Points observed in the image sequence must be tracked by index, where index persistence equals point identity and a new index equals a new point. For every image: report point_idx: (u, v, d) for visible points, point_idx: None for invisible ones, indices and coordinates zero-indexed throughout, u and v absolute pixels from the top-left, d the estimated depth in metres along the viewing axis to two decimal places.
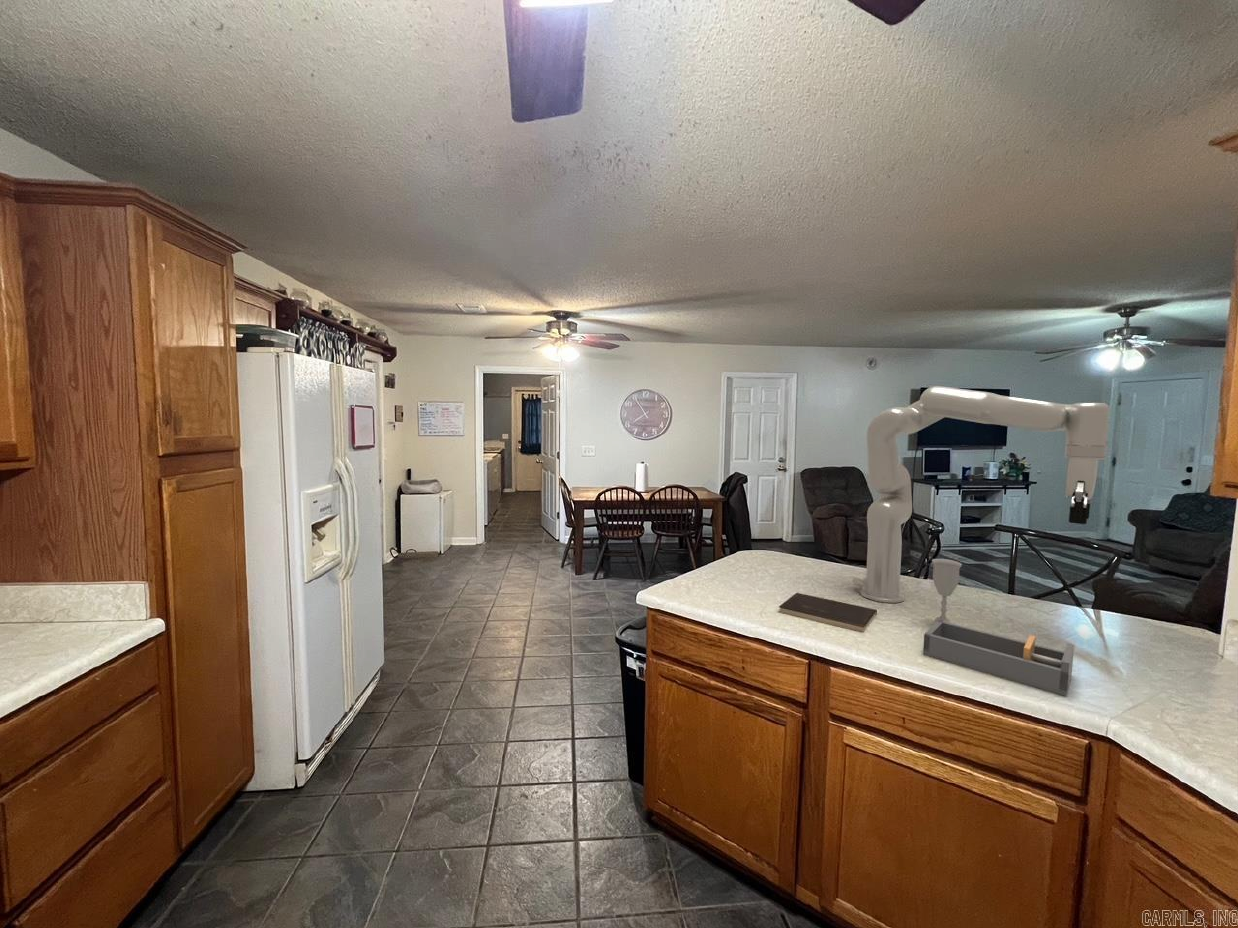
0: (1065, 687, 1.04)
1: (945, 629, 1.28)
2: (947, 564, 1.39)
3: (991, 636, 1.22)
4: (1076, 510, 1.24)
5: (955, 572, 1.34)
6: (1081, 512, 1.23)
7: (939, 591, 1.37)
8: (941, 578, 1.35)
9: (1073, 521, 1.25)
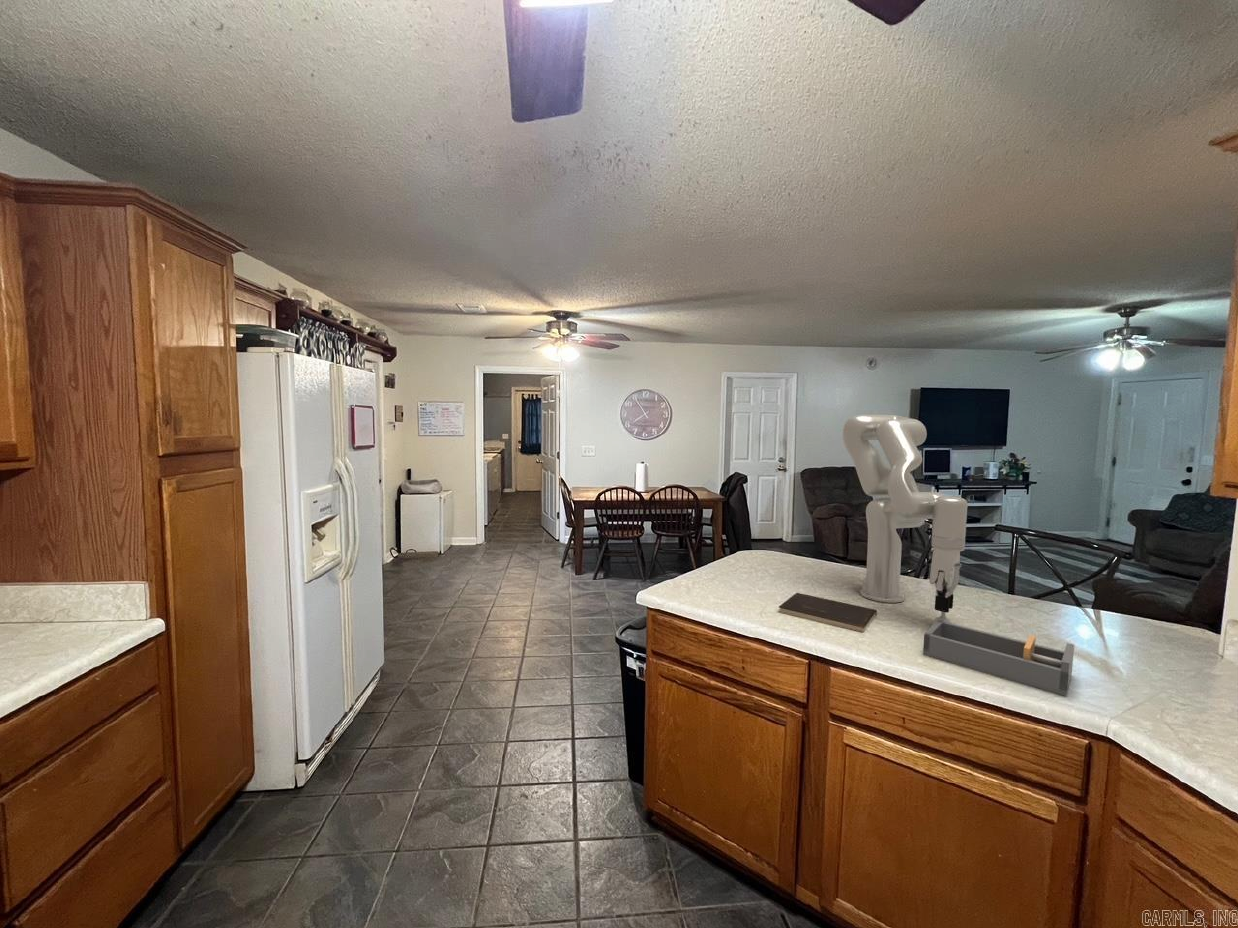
0: (1065, 687, 1.04)
1: (945, 629, 1.28)
2: None
3: (991, 636, 1.22)
4: (940, 600, 1.36)
5: (955, 572, 1.34)
6: (944, 602, 1.35)
7: None
8: None
9: (938, 609, 1.37)
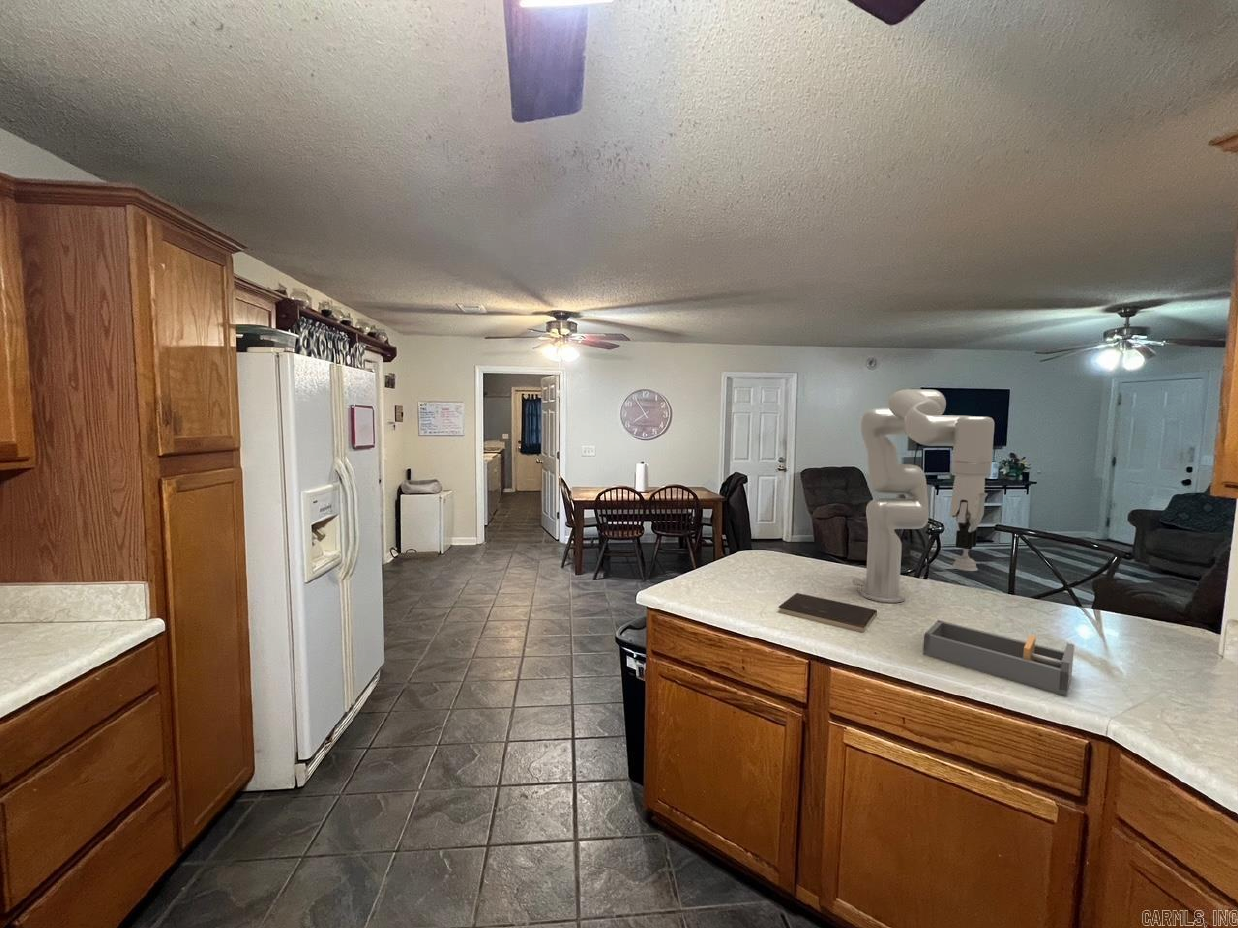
0: (1065, 687, 1.04)
1: (945, 629, 1.28)
2: None
3: (991, 636, 1.22)
4: (962, 535, 1.18)
5: (980, 503, 1.16)
6: (966, 537, 1.17)
7: None
8: None
9: (959, 546, 1.19)
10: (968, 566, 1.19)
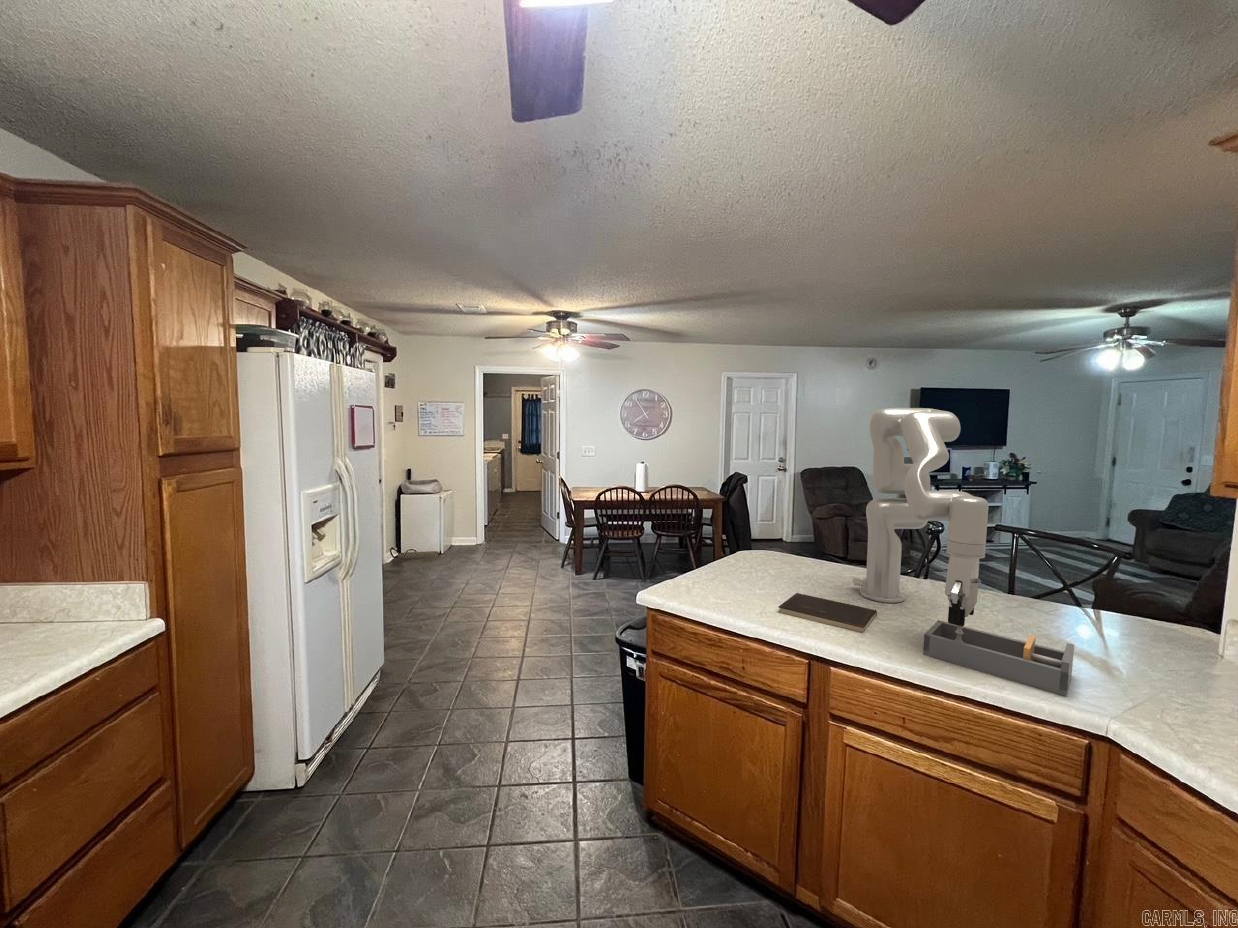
0: (1065, 687, 1.04)
1: (945, 629, 1.28)
2: None
3: (991, 636, 1.22)
4: (954, 612, 1.18)
5: (973, 590, 1.17)
6: (958, 614, 1.17)
7: None
8: None
9: (952, 622, 1.19)
10: None
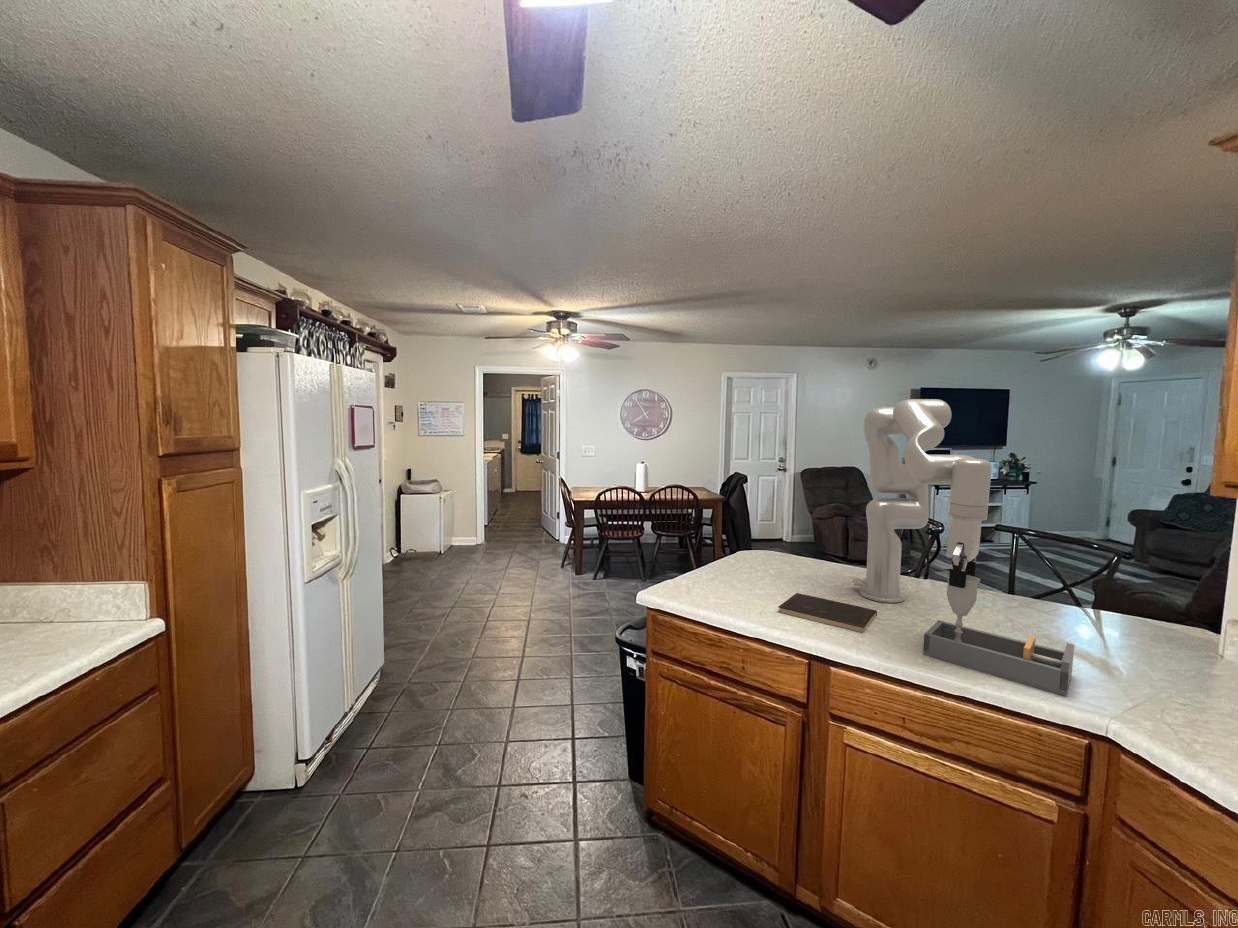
0: (1065, 687, 1.04)
1: (945, 629, 1.28)
2: None
3: (991, 636, 1.22)
4: (955, 574, 1.17)
5: (973, 588, 1.18)
6: (959, 576, 1.17)
7: (954, 609, 1.20)
8: (957, 593, 1.19)
9: (953, 584, 1.18)
10: None
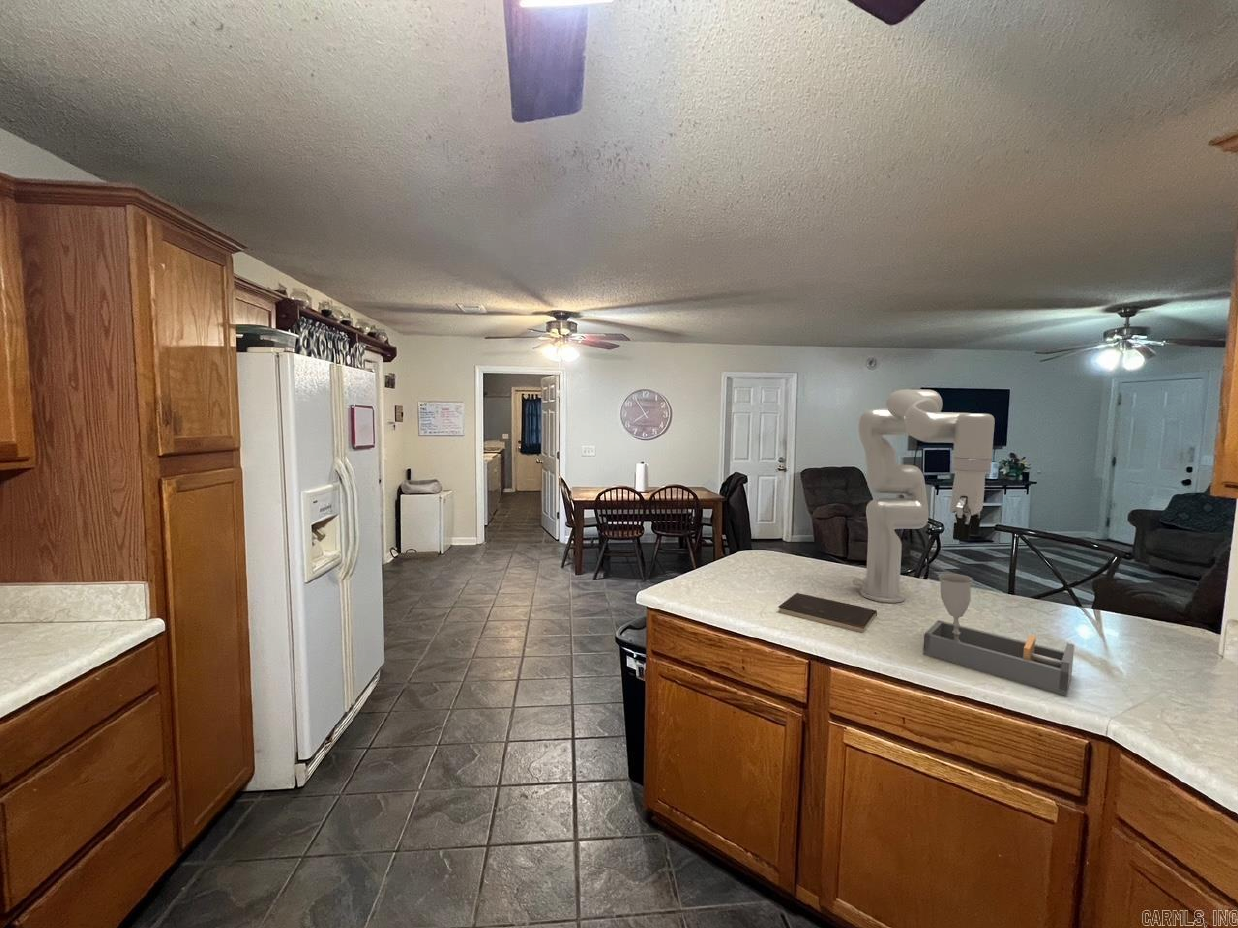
0: (1065, 687, 1.04)
1: (945, 629, 1.28)
2: (956, 579, 1.22)
3: (991, 636, 1.22)
4: (959, 527, 1.18)
5: (966, 590, 1.17)
6: (963, 529, 1.17)
7: (949, 611, 1.20)
8: (951, 596, 1.18)
9: (957, 538, 1.19)
10: None
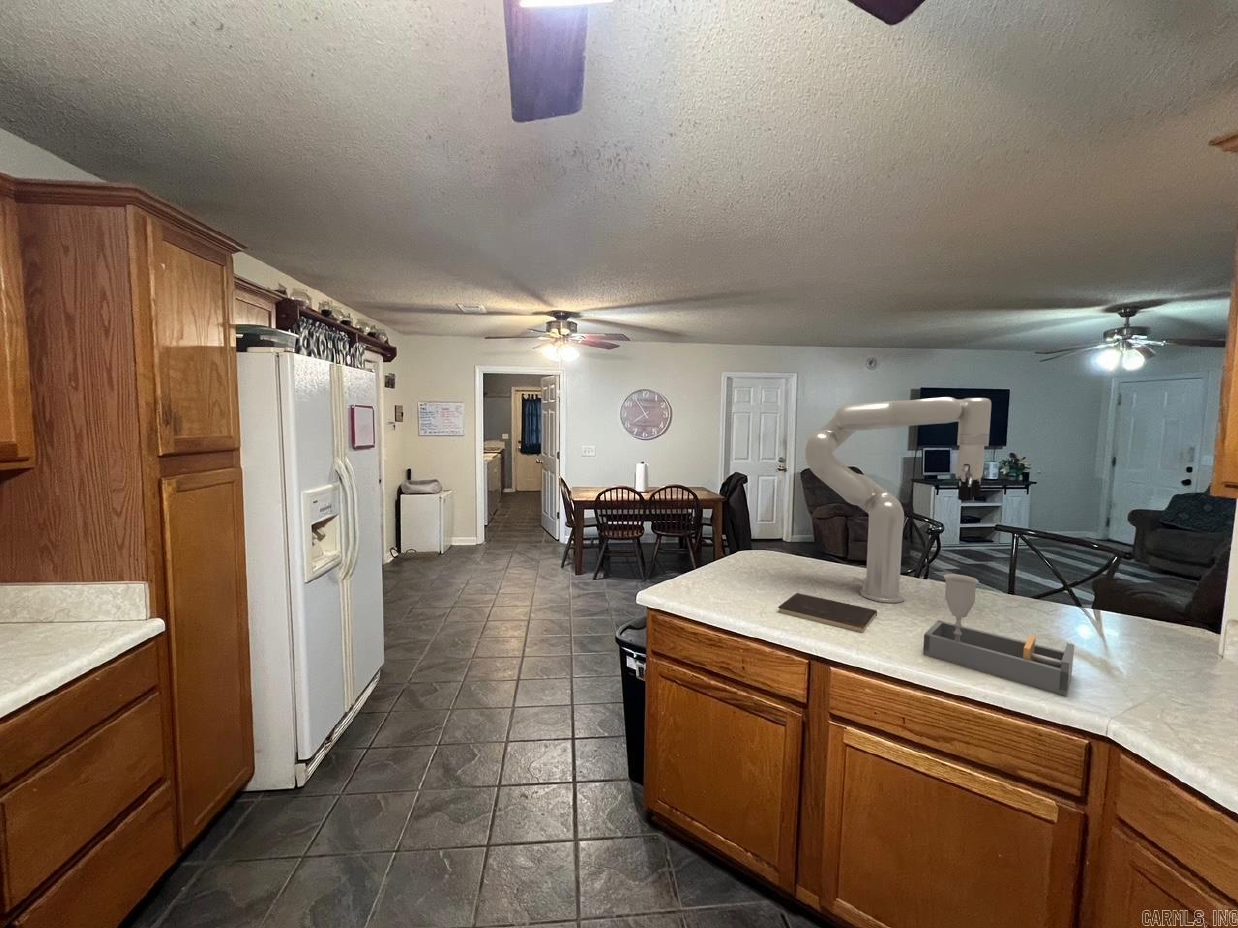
0: (1065, 687, 1.04)
1: (945, 629, 1.28)
2: (961, 580, 1.22)
3: (991, 636, 1.22)
4: (963, 489, 1.46)
5: (971, 591, 1.17)
6: (966, 490, 1.46)
7: (953, 612, 1.20)
8: (956, 596, 1.18)
9: (961, 498, 1.47)
10: None
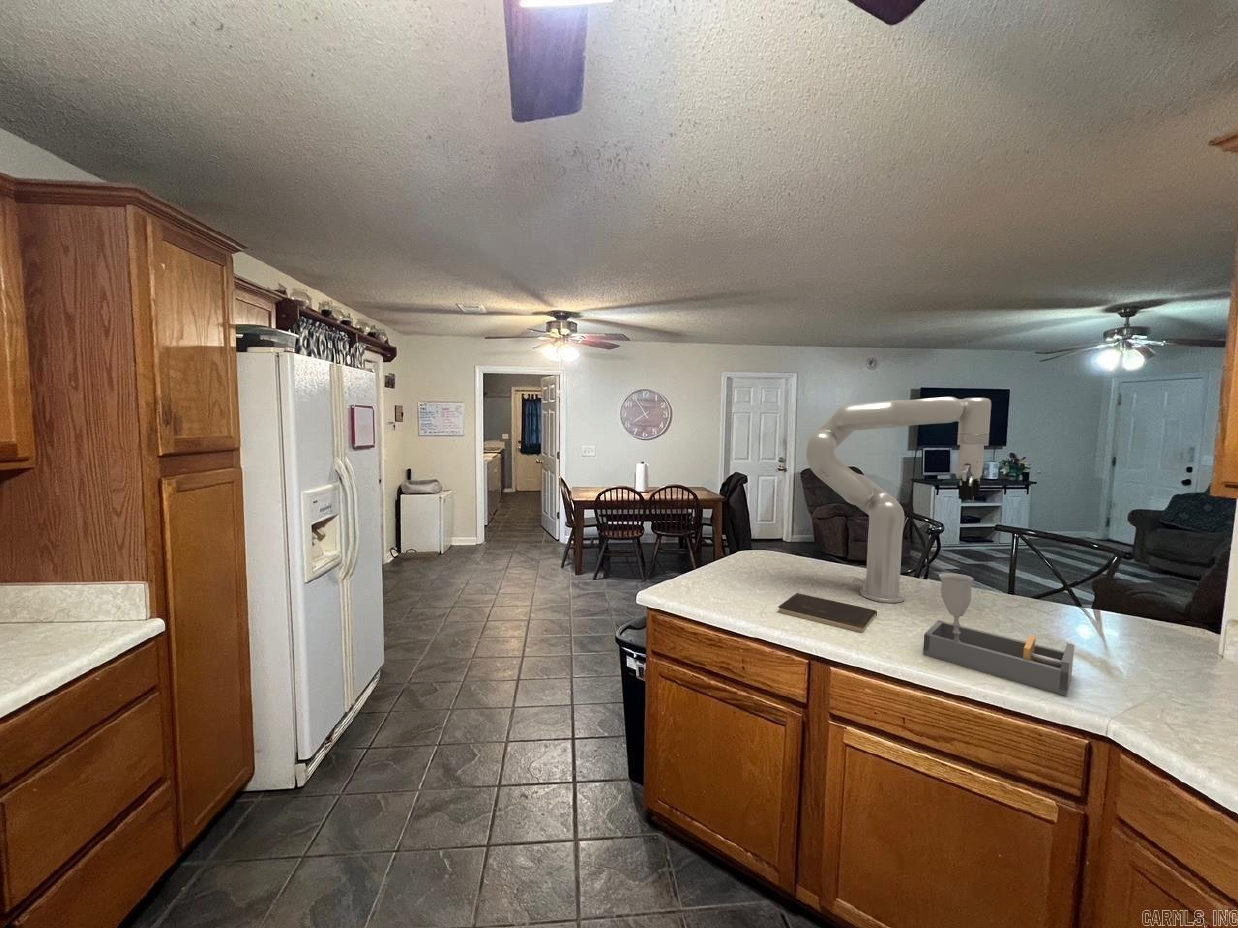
0: (1065, 687, 1.04)
1: (945, 629, 1.28)
2: (956, 579, 1.23)
3: (991, 636, 1.22)
4: (963, 488, 1.47)
5: (966, 588, 1.17)
6: (967, 490, 1.46)
7: (950, 611, 1.20)
8: (952, 595, 1.18)
9: (962, 498, 1.48)
10: None
